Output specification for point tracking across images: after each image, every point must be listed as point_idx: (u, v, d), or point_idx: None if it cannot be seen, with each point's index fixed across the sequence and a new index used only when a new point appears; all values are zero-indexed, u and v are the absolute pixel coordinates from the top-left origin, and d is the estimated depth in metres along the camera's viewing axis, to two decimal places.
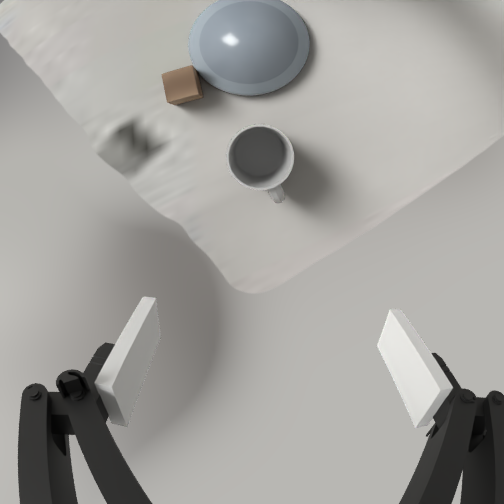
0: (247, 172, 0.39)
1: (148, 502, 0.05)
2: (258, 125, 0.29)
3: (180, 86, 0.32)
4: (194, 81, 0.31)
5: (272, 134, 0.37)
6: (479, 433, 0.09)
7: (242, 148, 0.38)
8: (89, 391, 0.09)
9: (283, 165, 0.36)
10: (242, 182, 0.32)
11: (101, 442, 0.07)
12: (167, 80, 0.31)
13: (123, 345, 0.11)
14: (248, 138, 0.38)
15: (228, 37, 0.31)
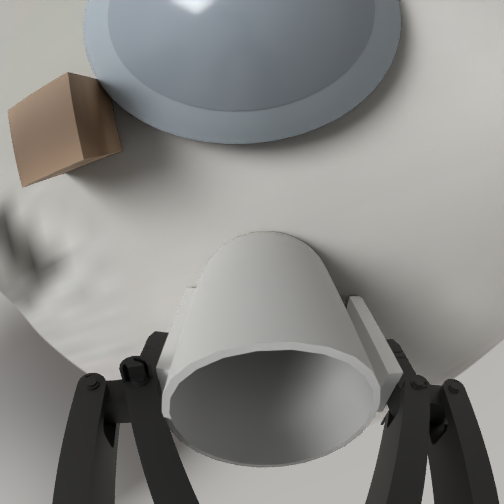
0: None
1: (192, 493, 0.06)
2: (271, 347, 0.07)
3: (43, 140, 0.10)
4: (73, 121, 0.10)
5: None
6: (440, 423, 0.10)
7: None
8: (152, 379, 0.10)
9: None
10: (220, 455, 0.10)
11: (156, 429, 0.08)
12: (17, 127, 0.09)
13: (178, 332, 0.13)
14: None
15: None
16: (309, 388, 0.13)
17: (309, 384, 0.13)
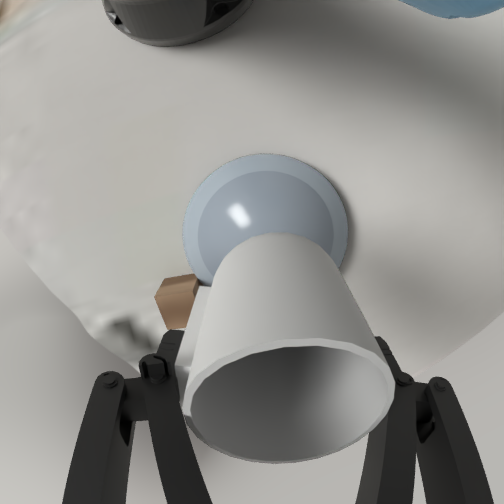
0: None
1: (205, 491, 0.06)
2: (298, 343, 0.07)
3: (181, 315, 0.29)
4: None
5: None
6: (427, 421, 0.10)
7: None
8: (171, 377, 0.10)
9: None
10: (236, 452, 0.10)
11: (173, 427, 0.08)
12: (163, 306, 0.28)
13: (194, 329, 0.13)
14: None
15: (238, 235, 0.28)
16: (320, 386, 0.13)
17: (320, 382, 0.13)
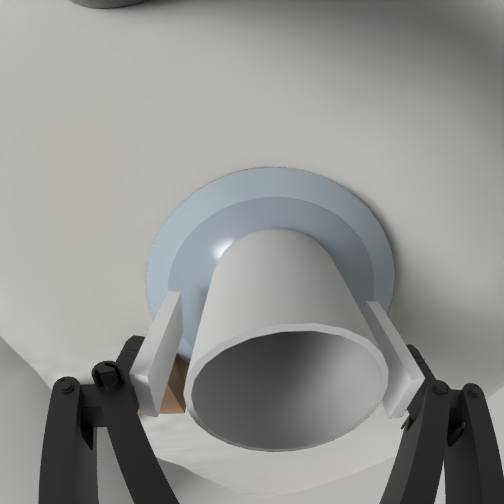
0: None
1: (173, 496, 0.06)
2: (295, 327, 0.08)
3: None
4: (174, 398, 0.18)
5: None
6: (457, 427, 0.09)
7: None
8: (124, 383, 0.10)
9: (333, 338, 0.15)
10: (234, 440, 0.10)
11: (132, 434, 0.08)
12: None
13: (154, 336, 0.12)
14: None
15: None
16: (317, 377, 0.14)
17: (317, 373, 0.14)
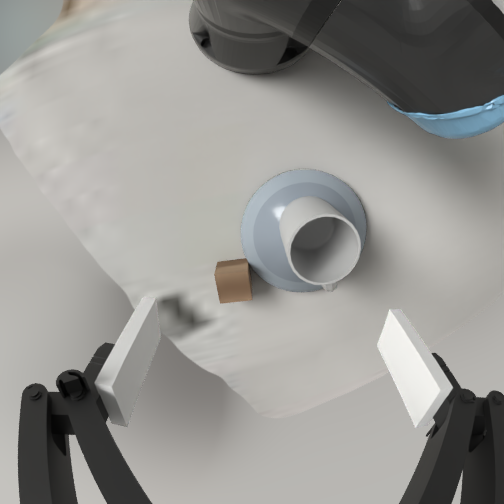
0: (292, 244, 0.36)
1: (148, 502, 0.05)
2: (330, 215, 0.26)
3: (234, 290, 0.36)
4: (249, 287, 0.36)
5: None
6: (479, 433, 0.09)
7: None
8: (89, 391, 0.09)
9: (336, 247, 0.33)
10: (300, 275, 0.29)
11: (101, 442, 0.07)
12: (220, 282, 0.36)
13: (123, 345, 0.11)
14: None
15: None
16: (330, 262, 0.32)
17: (330, 261, 0.32)
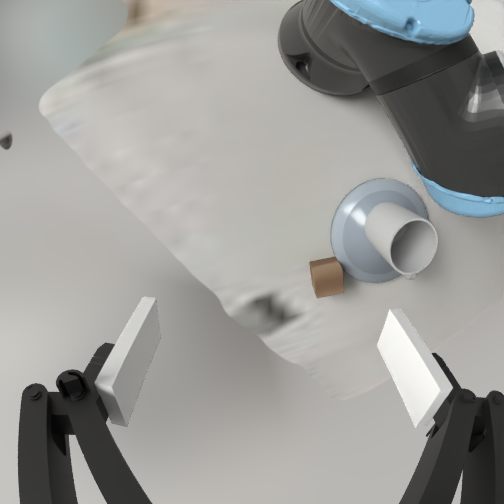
0: None
1: (148, 502, 0.05)
2: (418, 219, 0.30)
3: (330, 286, 0.41)
4: (342, 282, 0.41)
5: None
6: (479, 433, 0.09)
7: None
8: (89, 391, 0.09)
9: (411, 243, 0.37)
10: (396, 267, 0.33)
11: (101, 442, 0.07)
12: (319, 280, 0.40)
13: (123, 345, 0.11)
14: None
15: None
16: (409, 255, 0.36)
17: (409, 254, 0.36)
